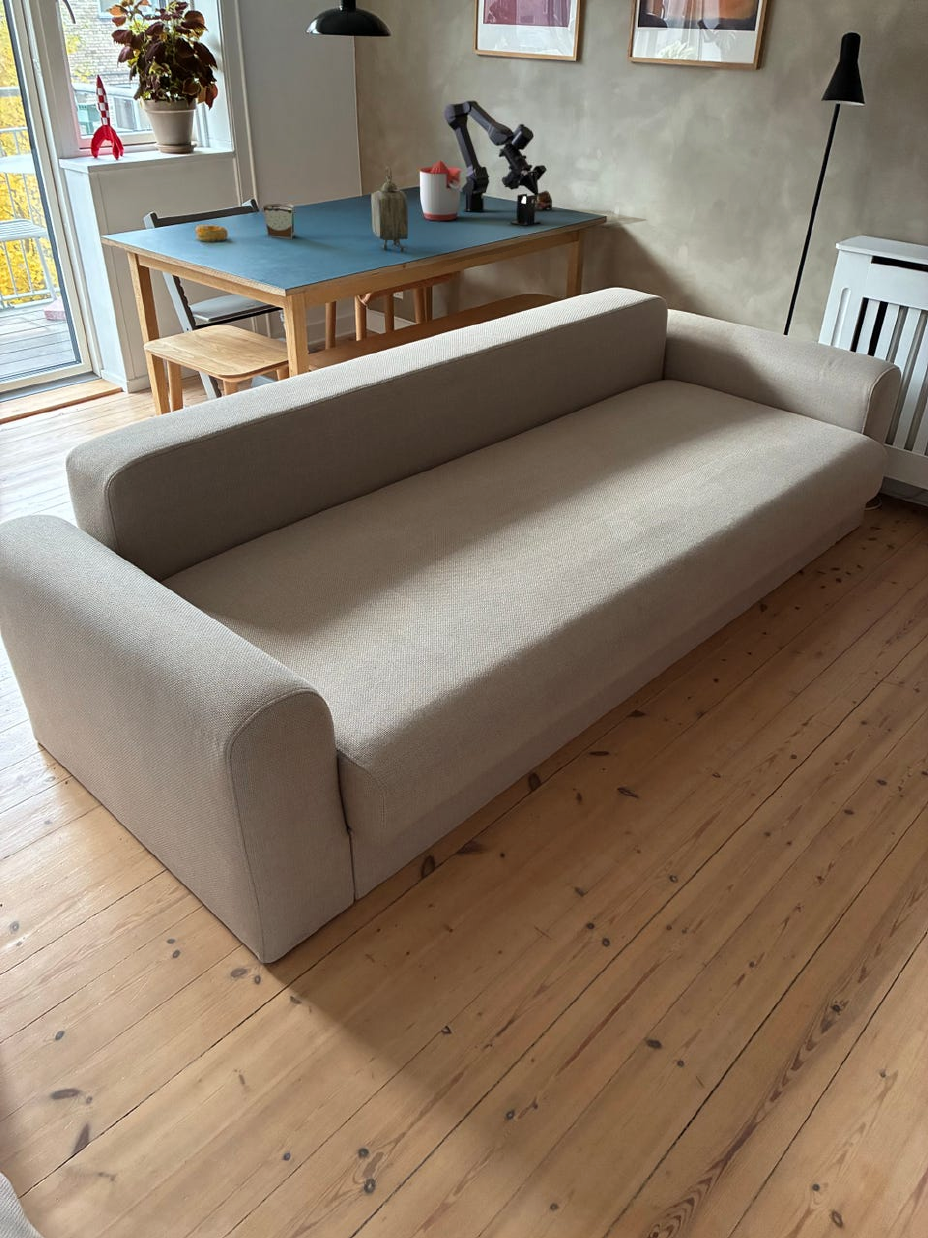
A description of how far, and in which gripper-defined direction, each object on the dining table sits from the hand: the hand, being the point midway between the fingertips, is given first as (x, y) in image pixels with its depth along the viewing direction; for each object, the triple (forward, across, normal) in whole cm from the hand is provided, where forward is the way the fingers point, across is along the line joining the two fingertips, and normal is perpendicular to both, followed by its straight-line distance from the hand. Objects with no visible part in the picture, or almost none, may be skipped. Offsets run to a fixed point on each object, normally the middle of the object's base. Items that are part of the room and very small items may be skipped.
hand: (537, 194), depth 351 cm
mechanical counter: (-3, -18, -17) cm, 25 cm away
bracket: (+8, +8, -6) cm, 12 cm away
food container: (-27, +82, -41) cm, 95 cm away
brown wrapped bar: (+3, +5, -1) cm, 6 cm away
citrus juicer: (-14, +21, -28) cm, 37 cm away
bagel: (-36, +103, -50) cm, 120 cm away
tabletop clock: (+3, +70, -10) cm, 71 cm away
